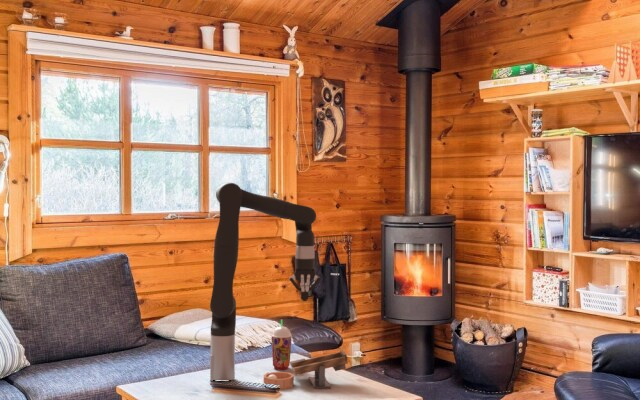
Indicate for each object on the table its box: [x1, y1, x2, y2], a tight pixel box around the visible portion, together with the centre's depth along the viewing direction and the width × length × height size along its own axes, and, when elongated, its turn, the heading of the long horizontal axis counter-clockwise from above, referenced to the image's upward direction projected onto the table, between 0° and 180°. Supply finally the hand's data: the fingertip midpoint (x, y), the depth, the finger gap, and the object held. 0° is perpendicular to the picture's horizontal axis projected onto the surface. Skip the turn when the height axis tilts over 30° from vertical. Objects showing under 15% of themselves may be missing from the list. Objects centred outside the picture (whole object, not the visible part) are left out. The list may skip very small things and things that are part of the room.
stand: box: [308, 366, 331, 390], centre depth 271 cm, size 6×14×8 cm, turn 9°
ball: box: [268, 374, 277, 379], centre depth 268 cm, size 4×4×4 cm
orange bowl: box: [262, 371, 295, 390], centre depth 268 cm, size 11×11×4 cm
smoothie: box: [270, 319, 292, 371], centre depth 294 cm, size 8×8×20 cm
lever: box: [290, 349, 349, 376], centre depth 275 cm, size 20×17×5 cm
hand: (304, 300), depth 285 cm, fingers closed
